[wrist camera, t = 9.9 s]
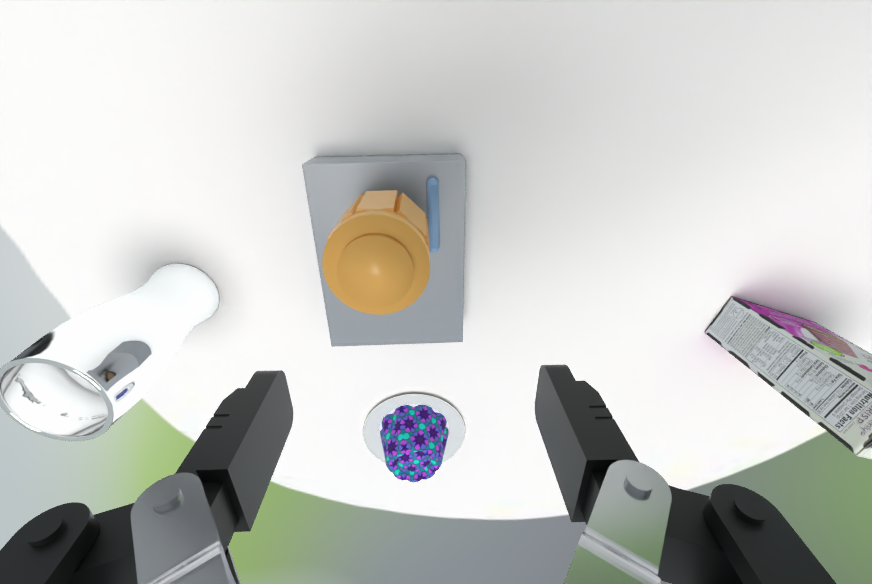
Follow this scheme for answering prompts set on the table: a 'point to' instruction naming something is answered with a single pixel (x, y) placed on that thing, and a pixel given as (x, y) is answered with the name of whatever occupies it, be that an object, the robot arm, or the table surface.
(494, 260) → the table surface
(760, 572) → the robot arm
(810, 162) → the table surface
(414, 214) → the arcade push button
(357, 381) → the table surface
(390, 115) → the table surface
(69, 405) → the beer glass
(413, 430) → the pudding
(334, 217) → the box
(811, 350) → the candy bar box
